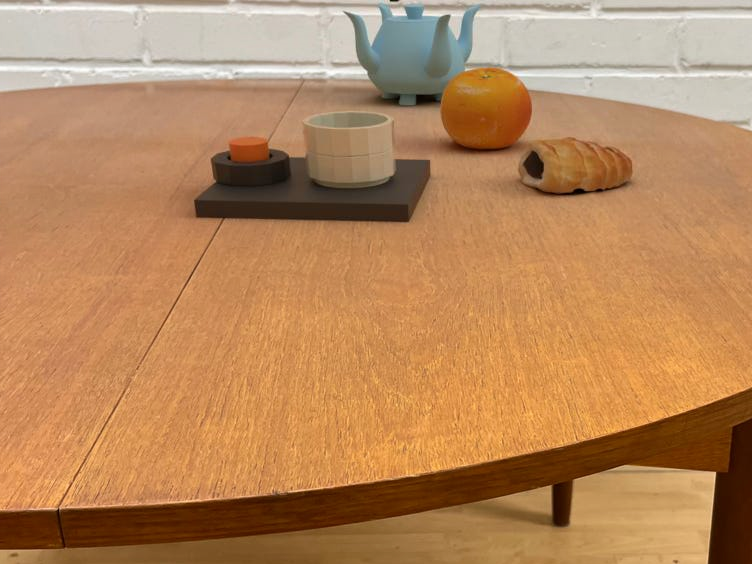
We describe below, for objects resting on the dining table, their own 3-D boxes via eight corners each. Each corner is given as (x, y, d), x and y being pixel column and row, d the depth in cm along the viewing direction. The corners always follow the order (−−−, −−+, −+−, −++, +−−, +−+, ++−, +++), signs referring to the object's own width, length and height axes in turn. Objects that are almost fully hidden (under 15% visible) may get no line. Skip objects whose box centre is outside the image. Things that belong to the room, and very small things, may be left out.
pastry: (607, 169, 85) (610, 124, 83) (648, 188, 80) (653, 141, 78) (511, 180, 82) (512, 134, 80) (548, 201, 76) (550, 151, 74)
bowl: (299, 189, 74) (293, 127, 72) (318, 167, 80) (313, 110, 78) (388, 191, 74) (385, 129, 71) (401, 169, 79) (398, 111, 77)
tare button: (226, 165, 75) (223, 144, 75) (237, 156, 78) (234, 136, 77) (264, 166, 75) (261, 145, 74) (274, 157, 78) (271, 137, 77)
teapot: (450, 112, 108) (449, 12, 103) (341, 105, 111) (334, 8, 106) (483, 92, 119) (483, 0, 113) (382, 86, 122) (378, -3, 116)
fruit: (423, 116, 87) (466, 34, 86) (428, 133, 96) (467, 58, 95) (504, 163, 88) (548, 83, 87) (502, 176, 96) (542, 103, 95)
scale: (190, 218, 72) (184, 177, 71) (243, 172, 84) (238, 136, 82) (408, 223, 71) (407, 182, 70) (430, 176, 83) (429, 140, 82)
